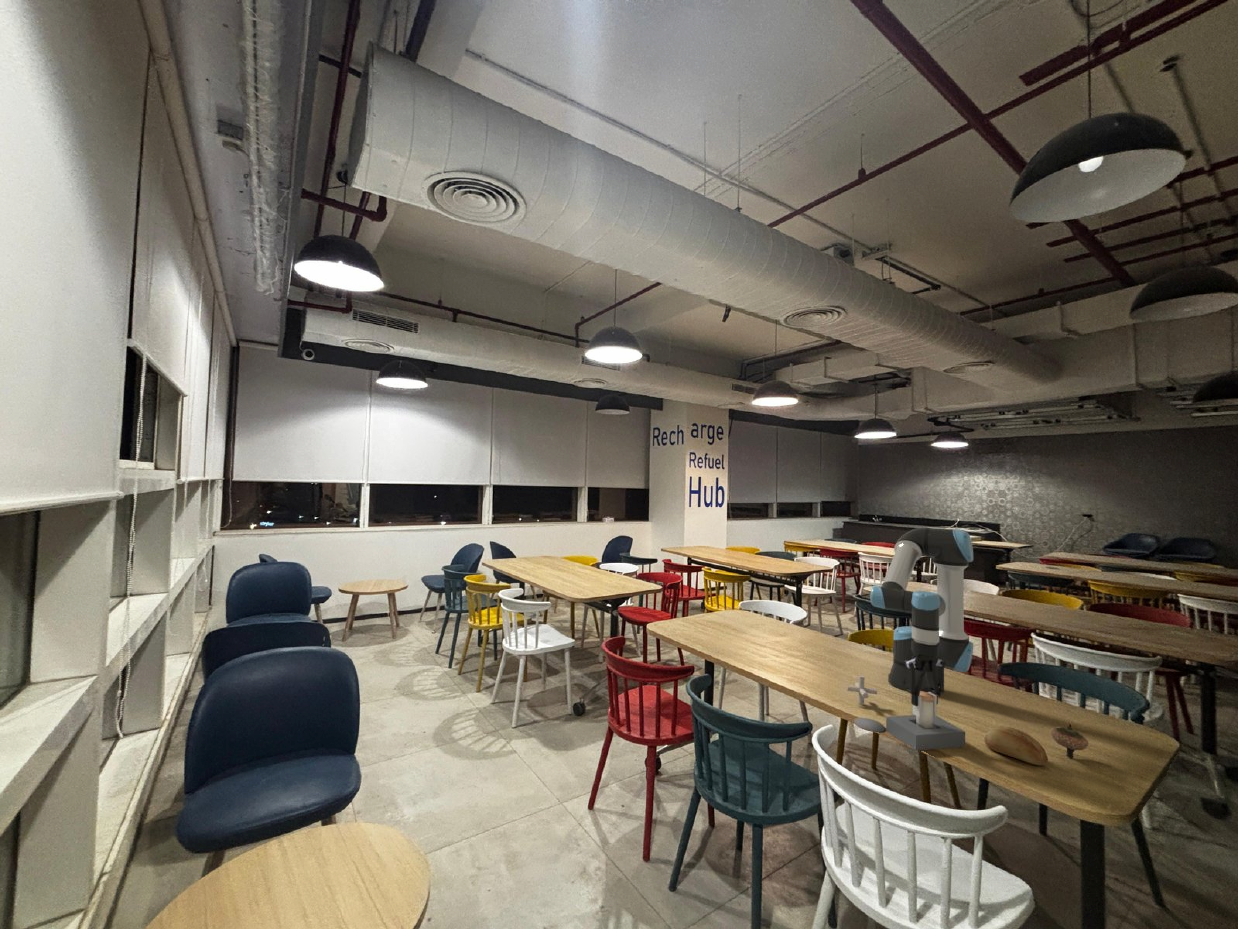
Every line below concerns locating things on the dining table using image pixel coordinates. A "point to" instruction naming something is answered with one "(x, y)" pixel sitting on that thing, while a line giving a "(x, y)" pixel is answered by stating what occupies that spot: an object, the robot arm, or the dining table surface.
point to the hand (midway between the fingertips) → (924, 715)
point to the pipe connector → (861, 690)
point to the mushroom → (926, 711)
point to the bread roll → (1016, 745)
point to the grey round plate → (869, 724)
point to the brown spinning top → (1069, 739)
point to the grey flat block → (925, 733)
